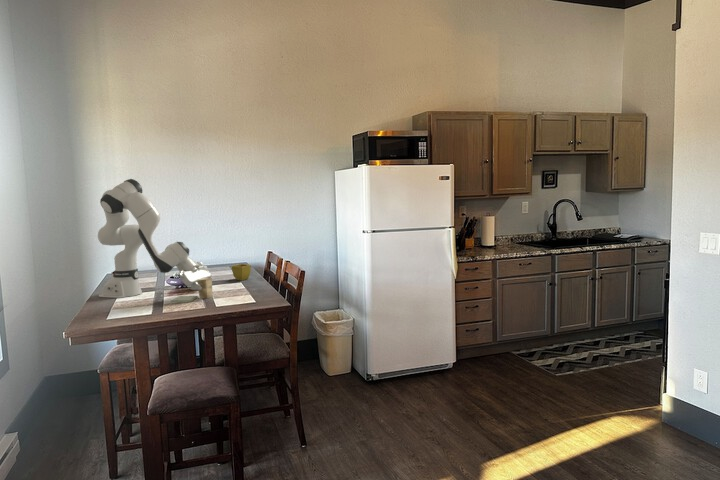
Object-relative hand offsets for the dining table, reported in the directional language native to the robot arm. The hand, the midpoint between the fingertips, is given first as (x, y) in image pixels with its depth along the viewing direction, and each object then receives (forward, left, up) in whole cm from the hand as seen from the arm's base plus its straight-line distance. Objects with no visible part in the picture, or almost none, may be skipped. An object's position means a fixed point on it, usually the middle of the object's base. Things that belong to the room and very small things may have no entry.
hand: (206, 287), depth 287 cm
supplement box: (-14, +23, -6) cm, 28 cm away
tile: (-10, -5, -5) cm, 13 cm away
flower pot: (+2, +49, -6) cm, 50 cm away
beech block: (-1, 0, -5) cm, 5 cm away
